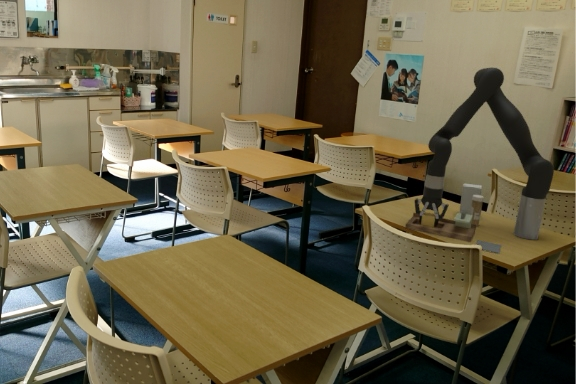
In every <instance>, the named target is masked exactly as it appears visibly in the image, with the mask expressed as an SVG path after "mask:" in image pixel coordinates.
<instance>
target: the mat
mask: <svg viewBox="0 0 576 384" xmlns="http://www.w3.org/2000/svg"><path fill="white" fill-rule="evenodd" d="M475 244H477V245H481V246H482V249H483V250H482V251H484V250H486V251H485V252H488V251H491V252H490V253H493V252H495V253H494V254H498V253H499V254H500V252H501V249H500V248H502V244H498V243H494V242H489V241H484V240H480V239H479V240H478V239H477V240H476V242H475Z"/></svg>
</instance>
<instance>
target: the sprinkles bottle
mask: <svg viewBox="0 0 576 384" xmlns="http://www.w3.org/2000/svg"><path fill="white" fill-rule="evenodd" d="M484 200H485V199H484V196H483V195H481V196H480V195H473V197H472V205H471V210H470V215H473V216H472V222H471V224H475V225H476V227H479V226H480V225H479V224H480V219H481V214H482V207H483V203H484Z"/></svg>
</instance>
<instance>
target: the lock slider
mask: <svg viewBox="0 0 576 384" xmlns="http://www.w3.org/2000/svg"><path fill="white" fill-rule="evenodd" d="M472 216H473V215H468V214H466V210H463V211H462V213H459V212H457V213H456V214H455V216H454V217H453V219H452V220H453V221H456V222H455V226H459V227H464V228H469V229H470V228H471V222H472Z"/></svg>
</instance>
